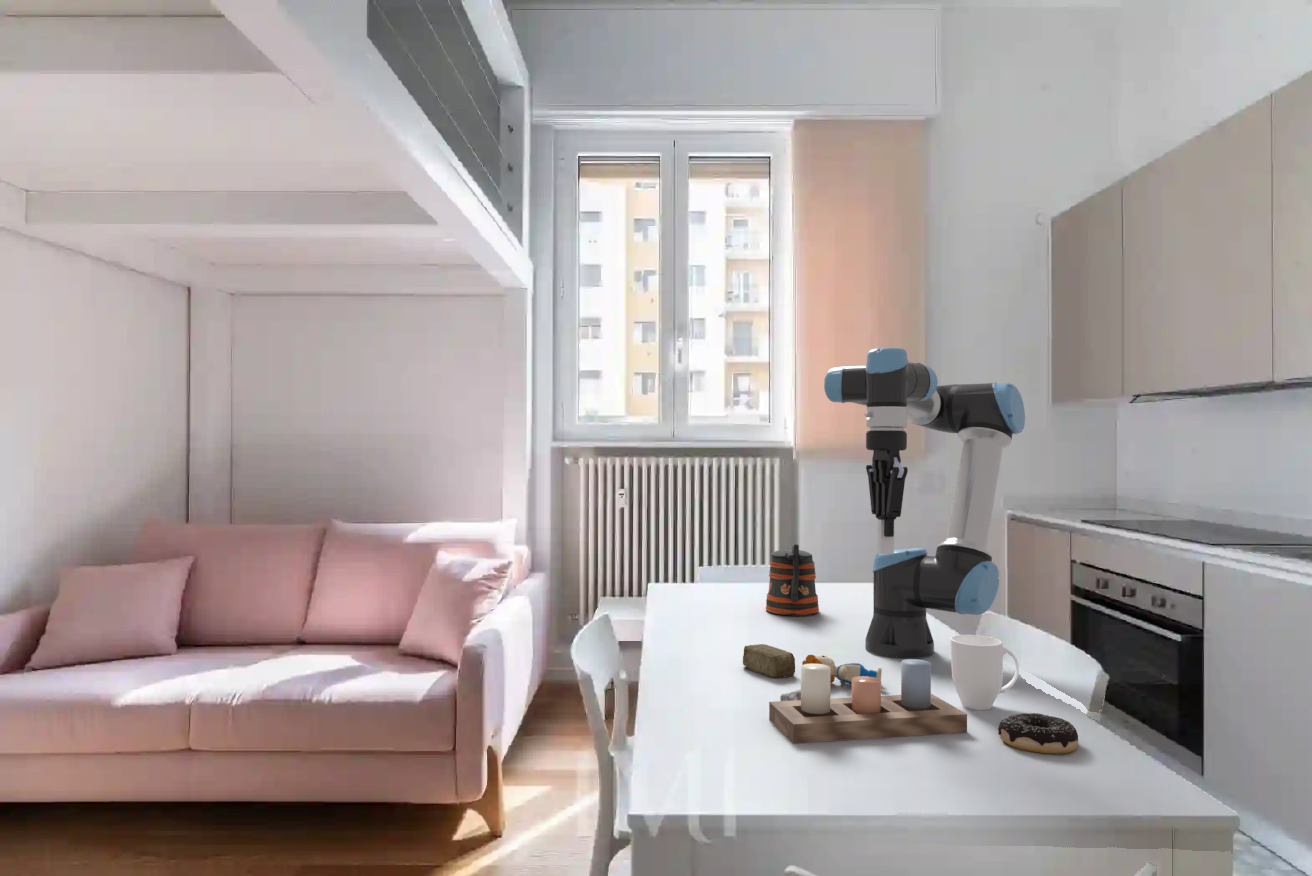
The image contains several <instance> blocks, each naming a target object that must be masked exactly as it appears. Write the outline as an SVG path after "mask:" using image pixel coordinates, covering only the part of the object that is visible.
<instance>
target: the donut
mask: <svg viewBox="0 0 1312 876" xmlns="http://www.w3.org/2000/svg"><path fill="white" fill-rule="evenodd" d="M997 731H998V736H999V737H1000V739H1001V741H1003V742H1004V743H1006V744H1007V745H1008V746H1011V747H1013V748H1016V749H1018V750H1022V751H1026V752H1033V753H1041V754H1049V755H1055V754H1056V755H1057V754H1058V755H1059V754H1060V755H1062V754H1063V755H1064V754H1068V753H1072V752H1073V751H1075V750H1076V749H1077V747H1078V745H1079V735H1078V731H1077V729H1076V728H1075V726H1074V724H1072V723H1071V722H1070V721H1068V720H1066V719H1063V718H1060V717H1056V716H1052V715H1051V716H1050V715H1048V714H1043V713H1037V712H1036V713H1034V712H1033V713H1030V712H1029V713H1024V712H1023V713H1017V714H1013V715H1009V716H1007V717H1005V718H1003V719H1001V721H1000V722H999V724H998V728H997Z"/></svg>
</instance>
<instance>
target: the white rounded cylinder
mask: <svg viewBox="0 0 1312 876" xmlns="http://www.w3.org/2000/svg"><path fill="white" fill-rule="evenodd" d="M800 689H801V710H802V711H804V712H807V713H812V714H825V713H828V712H830V699H831V684H830V667H829V666H827V665H823V664H804V665H801V666H800Z"/></svg>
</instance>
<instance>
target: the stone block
mask: <svg viewBox="0 0 1312 876" xmlns="http://www.w3.org/2000/svg"><path fill="white" fill-rule="evenodd" d="M742 665H743V666H744V667H745V668H746V669H749V670H750V671H754V672H755V673H759V674H761V675H763V676H764V675H765V676H767V677H770V678H773V679H779V678H781V679H782V678H789V677H792V676H794V675H795V673H796V659H795V656H794V654H793V652H790V651H787V650H786V649H781V648H778V647H775V646H771V645H768V644H766V643H765V644H764V643H762V644H749V645H744V647H743V657H742Z"/></svg>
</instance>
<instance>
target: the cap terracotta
mask: <svg viewBox="0 0 1312 876" xmlns="http://www.w3.org/2000/svg"><path fill="white" fill-rule="evenodd" d="M881 696H882V679H881V680H880V679H878V678H874V677H868V676H858V677H853V678H852V685H851V697H852V711H853V712H854V713H856V714H871V713H881Z"/></svg>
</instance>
